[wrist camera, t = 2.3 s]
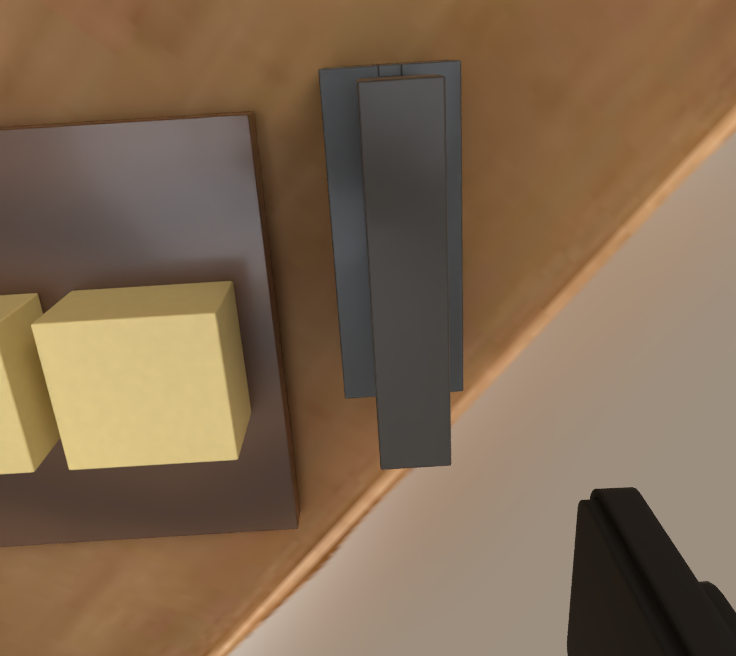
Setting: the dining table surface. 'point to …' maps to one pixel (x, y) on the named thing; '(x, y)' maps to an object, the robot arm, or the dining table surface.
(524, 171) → the dining table surface
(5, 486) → the cutting board
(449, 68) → the scraper stand
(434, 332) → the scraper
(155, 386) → the butter
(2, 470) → the butter slice
